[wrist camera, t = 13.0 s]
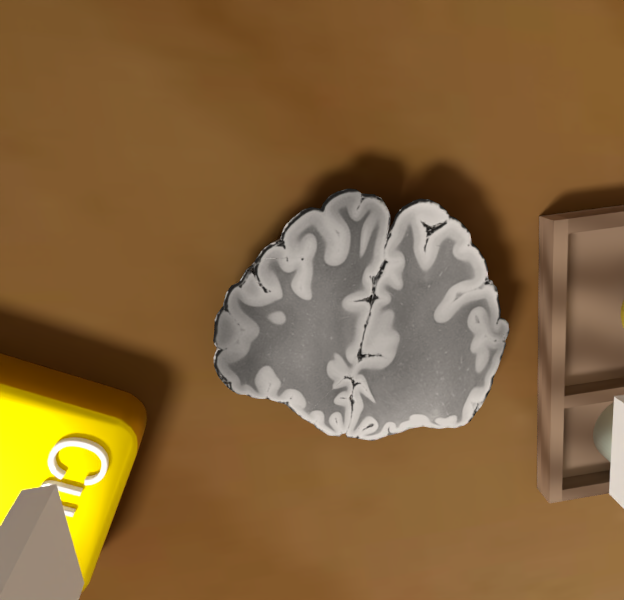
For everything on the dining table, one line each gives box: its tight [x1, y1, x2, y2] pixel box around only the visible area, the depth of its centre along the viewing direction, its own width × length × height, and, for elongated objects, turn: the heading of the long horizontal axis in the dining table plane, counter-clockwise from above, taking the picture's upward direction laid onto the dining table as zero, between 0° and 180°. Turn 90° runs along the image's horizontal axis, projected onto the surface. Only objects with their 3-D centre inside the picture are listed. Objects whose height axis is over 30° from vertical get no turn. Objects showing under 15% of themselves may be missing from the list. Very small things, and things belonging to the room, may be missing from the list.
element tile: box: [0, 353, 147, 593], centre depth 40 cm, size 15×15×5 cm
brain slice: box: [213, 189, 509, 441], centre depth 40 cm, size 20×17×3 cm
